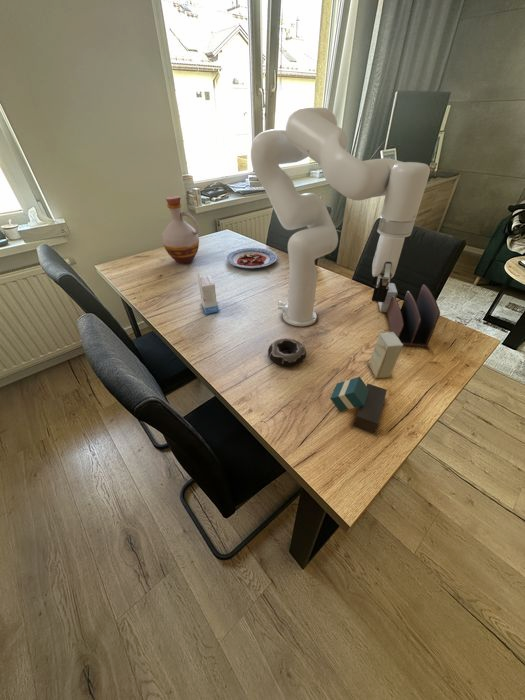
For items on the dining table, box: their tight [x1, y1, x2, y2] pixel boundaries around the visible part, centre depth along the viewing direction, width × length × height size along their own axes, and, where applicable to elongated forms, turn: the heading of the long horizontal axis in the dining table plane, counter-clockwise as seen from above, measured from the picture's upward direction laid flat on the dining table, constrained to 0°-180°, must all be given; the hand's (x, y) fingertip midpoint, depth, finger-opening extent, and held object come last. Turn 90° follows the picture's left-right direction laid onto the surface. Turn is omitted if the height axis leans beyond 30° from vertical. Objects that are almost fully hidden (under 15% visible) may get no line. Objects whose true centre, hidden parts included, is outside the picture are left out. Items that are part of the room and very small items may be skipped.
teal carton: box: [329, 376, 369, 412], centre depth 73 cm, size 8×6×8 cm
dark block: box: [352, 382, 388, 435], centre depth 72 cm, size 5×12×4 cm, turn 152°
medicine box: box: [377, 282, 398, 313], centre depth 110 cm, size 8×4×9 cm, turn 168°
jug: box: [161, 195, 200, 264], centre depth 140 cm, size 20×18×30 cm
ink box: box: [196, 270, 219, 315], centre depth 108 cm, size 8×5×15 cm, turn 20°
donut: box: [267, 337, 307, 368], centre depth 89 cm, size 12×12×4 cm
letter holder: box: [386, 283, 441, 348], centre depth 97 cm, size 10×20×14 cm, turn 169°
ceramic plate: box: [226, 247, 278, 269], centre depth 148 cm, size 26×26×3 cm
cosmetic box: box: [368, 331, 404, 379], centre depth 81 cm, size 6×4×12 cm
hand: (377, 292), depth 77 cm, fingers open, 9 cm apart
